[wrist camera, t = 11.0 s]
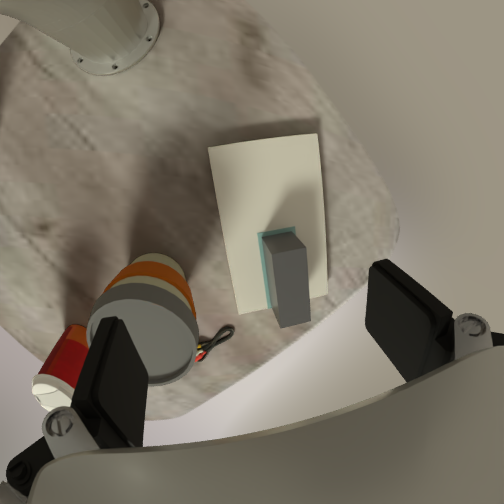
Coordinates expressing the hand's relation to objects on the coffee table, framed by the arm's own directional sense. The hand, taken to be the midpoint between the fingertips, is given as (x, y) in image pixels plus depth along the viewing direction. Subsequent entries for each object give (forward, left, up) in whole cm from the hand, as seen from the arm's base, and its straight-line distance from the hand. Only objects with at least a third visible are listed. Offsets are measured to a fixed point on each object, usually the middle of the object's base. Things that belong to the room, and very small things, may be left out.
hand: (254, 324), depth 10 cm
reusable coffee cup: (+12, -11, -30) cm, 34 cm away
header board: (+7, +7, -30) cm, 32 cm away
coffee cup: (+20, -28, -30) cm, 46 cm away
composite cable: (+25, -6, -31) cm, 40 cm away
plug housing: (+13, +7, -28) cm, 31 cm away
